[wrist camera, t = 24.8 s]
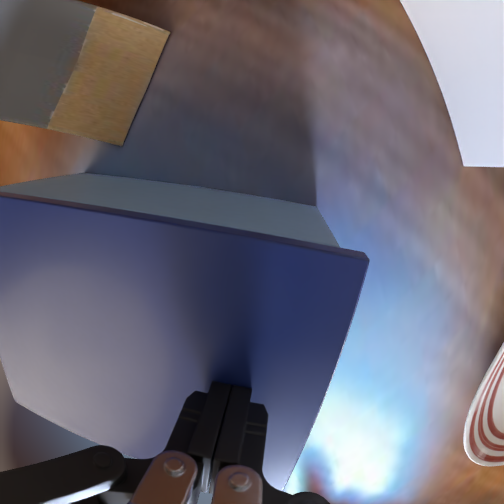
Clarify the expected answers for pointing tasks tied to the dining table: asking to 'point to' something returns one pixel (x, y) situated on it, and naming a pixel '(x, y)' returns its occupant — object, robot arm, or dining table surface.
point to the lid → (167, 321)
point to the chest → (185, 204)
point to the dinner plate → (487, 417)
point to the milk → (467, 70)
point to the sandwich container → (74, 66)
